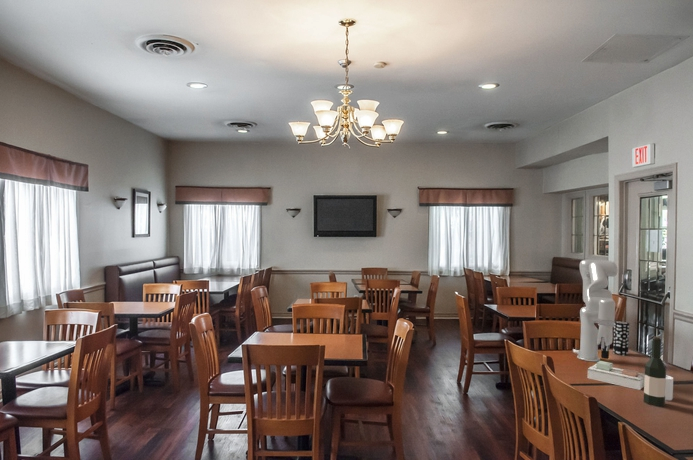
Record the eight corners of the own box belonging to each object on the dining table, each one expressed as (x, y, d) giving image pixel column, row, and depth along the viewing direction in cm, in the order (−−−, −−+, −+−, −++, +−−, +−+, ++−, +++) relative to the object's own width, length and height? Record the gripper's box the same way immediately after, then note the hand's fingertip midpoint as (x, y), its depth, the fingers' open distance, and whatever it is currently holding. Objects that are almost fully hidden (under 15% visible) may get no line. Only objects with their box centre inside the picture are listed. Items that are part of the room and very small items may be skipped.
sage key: (596, 368, 253) (596, 362, 253) (599, 366, 258) (600, 360, 258) (608, 371, 249) (609, 365, 249) (612, 368, 254) (612, 363, 254)
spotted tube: (624, 352, 310) (625, 321, 310) (630, 356, 302) (631, 324, 302) (610, 351, 311) (611, 320, 311) (616, 355, 303) (617, 323, 302)
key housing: (587, 378, 253) (587, 368, 253) (595, 372, 263) (596, 363, 263) (639, 390, 236) (640, 379, 236) (646, 383, 246) (646, 374, 246)
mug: (674, 401, 221) (675, 380, 221) (652, 398, 225) (653, 377, 224) (668, 393, 232) (669, 373, 232) (647, 390, 236) (648, 370, 236)
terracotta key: (621, 376, 245) (622, 370, 245) (624, 374, 250) (625, 368, 250) (635, 379, 241) (635, 373, 241) (638, 377, 245) (638, 371, 245)
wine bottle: (662, 401, 221) (664, 336, 221) (667, 407, 213) (670, 340, 213) (641, 398, 224) (643, 334, 223) (645, 404, 216) (648, 337, 215)
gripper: (602, 320, 261) (601, 354, 261) (594, 323, 250) (592, 359, 250) (618, 322, 256) (616, 357, 256) (610, 325, 245) (608, 362, 245)
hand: (604, 358), depth 253 cm, fingers closed
